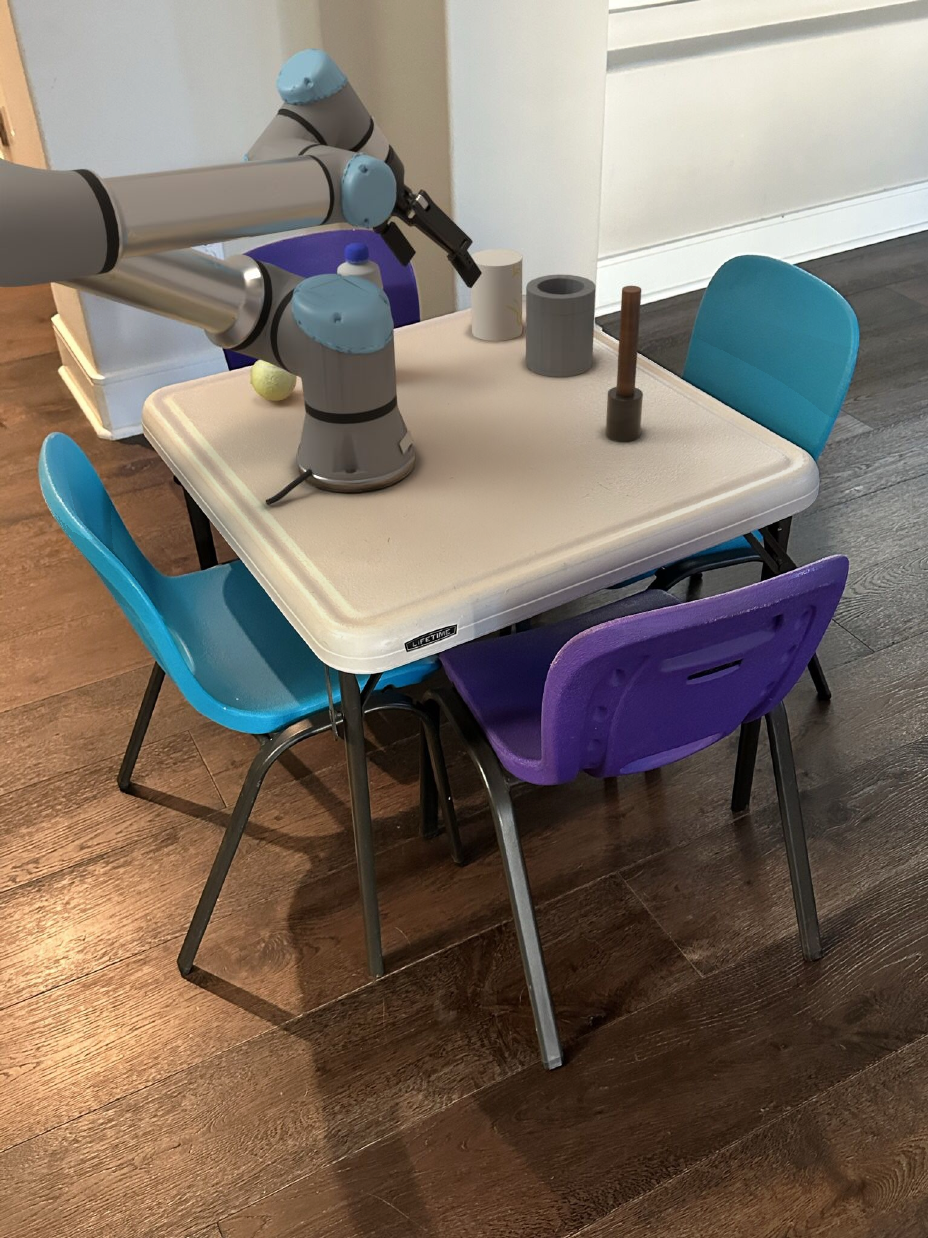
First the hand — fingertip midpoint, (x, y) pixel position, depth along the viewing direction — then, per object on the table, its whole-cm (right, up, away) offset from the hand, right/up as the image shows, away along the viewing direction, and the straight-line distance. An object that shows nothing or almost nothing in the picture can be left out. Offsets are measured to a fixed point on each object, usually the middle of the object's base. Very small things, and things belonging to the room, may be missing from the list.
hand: (441, 269), depth 162 cm
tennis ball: (-24, -18, +2) cm, 30 cm away
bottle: (-11, -14, +7) cm, 20 cm away
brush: (+25, -25, -10) cm, 37 cm away
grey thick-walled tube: (+18, -11, +10) cm, 23 cm away
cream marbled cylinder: (+9, -4, +21) cm, 23 cm away
